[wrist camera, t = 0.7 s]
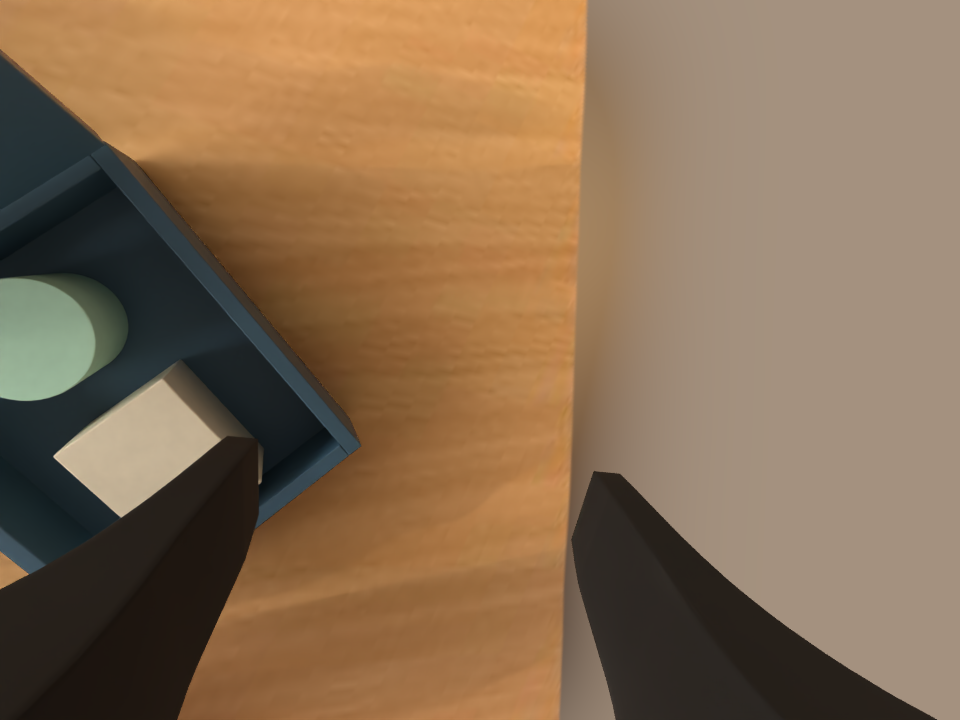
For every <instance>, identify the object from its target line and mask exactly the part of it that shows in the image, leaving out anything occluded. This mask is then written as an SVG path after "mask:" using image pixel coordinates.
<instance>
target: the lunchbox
mask: <svg viewBox="0 0 960 720" xmlns="http://www.w3.org/2000/svg"><path fill="white" fill-rule="evenodd" d="M104 144H105V145H104V146H103V147H102V148H100V149H98V150H97V151H95V152H94V153H92V154H90V155H89V156H87V157H85V158H84V159H82V160H81V161H79V162H77V163H76V164H74V165H72V166H71V167H69V168H68V169H66V170H64V171H63V172H61V173H60V174H58V175H56V176H55V177H53V178H51V179H50V180H48V181H47V182H45V183H43V184H42V185H40V186H39V187H37V188H35V189H34V190H32V191H30V192H29V193H27V194H26V195H24V196H22V197H21V198H19V199H18V200H16V201H14V202H13V203H11V204H9V205H8V206H6V207H5V208H3V209H1V210H0V279H1V278H9V277H20V276H31V275H42V274H53V273H72V274H78V275H82V276H86V277H89V278H91V279H93V280H96V281H98V282H99V283H101V284H103V285H104V286H105V287H107V288H108V289H109V290H110V291H112V292H113V293H114V294H115V296H116V297H117V298H118V299H119V301H120V302H121V304H122V305H123V307H124V310H125V312H126V315H127V319H128V336H127V340H126V343H125V345H124V347H123V349H122V350H121V352H120V353H119V355H118V356H117V357H116V358H115V359H114V360H113V361H111V362H110V363H109V364H107V365H106V366H104V367H103V368H101V369H100V370H98V371H97V372H95V373H93V374H92V375H90V376H89V377H87V378H86V379H84V380H83V381H81V382H80V383H78V384H77V385H75V386H74V387H72V388H70V389H69V390H67V391H65V392H63V393H61V394H59V395H56V396H53V397H50V398H46V399H41V400H32V401H19V400H11V399H6V398H2V397H0V551H1V552H2V553H3V554H4V555H6V556H7V557H8V558H9V559H11V560H12V561H13V562H15V563H16V564H17V565H18V566H20V567H21V568H22V569H23V570H25V571H26V572H27V573H28V574H31V573H33V572H35V571H37V570H38V569H40V568H42V567H44V566H46V565H47V564H49V563H51V562H52V561H54V560H56V559H58V558H59V557H61V556H63V555H64V554H66V553H68V552H69V551H71V550H73V549H74V548H76V547H78V546H79V545H81V544H83V543H84V542H86V541H87V540H89V539H90V538H92V537H94V536H95V535H97V534H98V533H100V532H101V531H103V530H104V529H106V528H107V527H108V526H110V525H111V524H113V523H114V522H116V521H117V520H118V519H120V518H121V517H120V516H119V515H117V514H116V513H115V512H114V511H113V510H112V509H111V508H110V507H108V506H107V505H106V504H105V503H104V502H103V501H102V500H101V499H100V498H98V497H97V496H96V495H95V494H94V493H93V492H92V491H91V490H89V489H88V488H87V487H86V486H85V485H84V484H83V483H82V482H81V481H79V480H78V479H77V478H76V477H75V476H74V475H73V474H72V473H70V472H69V471H68V470H67V469H66V468H65V467H64V466H63V465H62V464H60V463H59V462H58V461H57V460H56V459H55V458H54V455H55V454H56V453H57V452H58V451H59V450H60V449H62V448H63V447H64V446H65V445H66V444H67V443H68V442H69V441H70V440H72V439H73V438H74V437H75V436H76V435H77V434H78V433H79V432H80V431H81V430H83V429H84V428H85V427H86V426H87V425H88V424H89V423H91V422H92V421H93V420H95V419H96V418H98V417H99V416H100V415H102V414H103V413H105V412H106V411H108V410H109V409H110V408H112V407H113V406H115V405H116V404H117V403H119V402H120V401H122V400H123V399H125V398H126V397H127V396H129V395H130V394H132V393H133V392H134V391H136V390H137V389H139V388H140V387H142V386H143V385H144V384H146V383H147V382H149V381H150V380H151V379H153V378H154V377H156V376H157V375H159V374H160V373H161V372H163V371H164V370H166V369H167V368H168V367H170V366H171V365H173V364H174V363H175V362H177V361H178V360H182V361H183V362H184V363H185V364H186V365H187V366H188V367H189V368H190V369H191V370H192V371H193V373H194V374H195V375H196V376H197V377H198V378H199V379H200V380H201V381H202V382H203V383H204V384H205V385H206V387H207V388H208V389H209V390H210V391H211V392H212V393H213V394H214V395H215V396H216V397H217V398H218V399H219V400H220V402H221V403H222V404H223V405H224V406H225V407H226V408H227V409H228V410H229V411H230V412H231V413H232V414H233V416H234V417H235V418H236V419H237V420H238V421H239V422H240V423H241V424H242V425H243V426H244V427H245V428H246V430H247V431H248V432H249V433H250V434H251V435H252V436H253V437H254V438H256V439H258V442H259V444H260V445H261V446H262V447H263V448H264V456H263V469H262V482H261V483H260V484H259V516H258V519H257V523H256V526H255V529H256V528H257V527H258V526H260V525H261V524H262V523H264V522H265V521H266V520H267V519H269V518H270V517H271V516H272V515H274V514H275V513H276V512H278V511H279V510H280V509H281V508H283V507H284V506H285V505H287V504H288V503H289V502H290V501H292V500H293V499H294V498H295V497H297V496H298V495H299V494H301V493H302V492H303V491H304V490H306V489H307V488H308V487H310V486H311V485H312V484H313V483H315V482H316V481H317V480H318V479H320V478H321V477H322V476H324V475H325V474H326V473H327V472H329V471H330V470H331V469H332V468H334V467H335V466H336V465H338V464H339V463H340V462H341V461H343V460H344V459H345V458H347V457H348V456H349V455H350V454H352V453H353V452H354V451H356V450H357V449H358V448H359V447H361V443H360V441H359V439H358V437H357V434H356V432H355V430H354V427H353V425H352V423H351V421H350V418H349V417H348V416H347V415H346V413H345V412H344V411H343V410H342V409H341V407H340V406H339V405H338V404H337V403H336V401H335V400H334V399H333V398H332V397H331V395H330V394H329V393H328V392H327V391H326V389H325V388H324V387H323V386H322V385H321V383H320V382H319V381H318V380H317V379H316V377H315V376H314V375H313V374H312V373H311V371H310V370H309V369H308V368H307V367H306V365H305V364H304V363H303V362H302V361H301V360H300V358H299V357H298V356H297V355H296V354H295V352H294V351H293V350H292V349H291V348H290V346H289V345H288V344H287V343H286V342H285V340H284V339H283V338H282V337H281V336H280V334H279V333H278V332H277V331H276V330H275V328H274V327H273V326H272V325H271V324H270V322H269V321H268V320H267V319H266V318H265V316H264V315H263V314H262V313H261V312H260V310H259V309H258V308H257V307H256V306H255V304H254V303H253V302H252V301H251V300H250V298H249V297H248V296H247V295H246V294H245V292H244V291H243V290H242V289H241V288H240V286H239V285H238V284H237V283H236V282H235V280H234V279H233V278H232V277H231V276H230V274H229V273H228V272H227V271H226V270H225V268H224V267H223V266H222V265H221V264H220V263H219V261H218V260H217V259H216V258H215V257H214V255H213V254H212V253H211V252H210V251H209V249H208V248H207V247H206V246H205V245H204V243H203V242H202V241H201V240H200V239H199V237H198V236H197V235H196V234H195V233H194V231H193V230H192V229H191V228H190V227H189V225H188V224H187V223H186V222H185V221H184V219H183V218H182V217H181V216H180V215H179V213H178V212H177V211H176V210H175V209H174V207H173V206H172V205H171V204H170V203H169V201H168V200H167V199H166V198H165V197H164V195H163V194H162V193H161V192H160V191H159V189H158V188H157V187H156V186H155V185H154V183H153V182H152V181H151V180H150V179H149V177H148V176H147V175H146V174H145V173H144V172H143V170H142V169H141V168H140V167H139V166H138V164H137V163H136V162H135V161H134V160H132V159H131V158H130V157H128V156H127V155H125V154H123V153H122V152H120V151H119V150H117V149H116V148H114V147H112V146H111V145H109V144H108V143H106V142H105V141H104ZM255 529H254V530H255Z"/></svg>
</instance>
